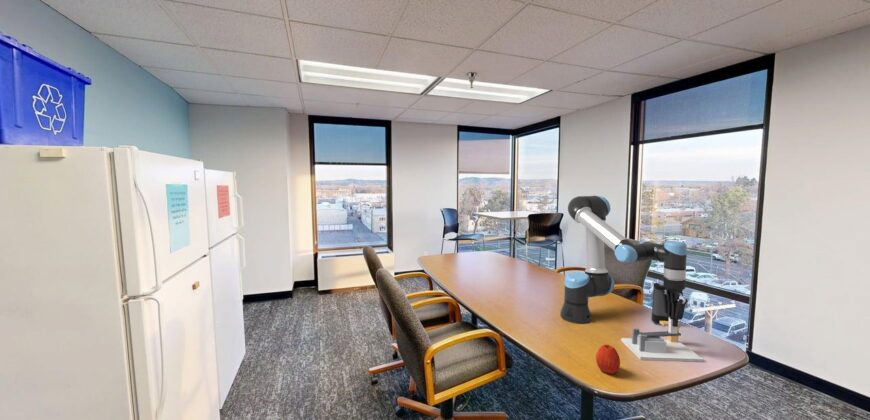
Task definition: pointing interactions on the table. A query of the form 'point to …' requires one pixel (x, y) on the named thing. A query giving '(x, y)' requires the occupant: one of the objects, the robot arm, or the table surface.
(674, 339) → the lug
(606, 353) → the apple
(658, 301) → the electronic device
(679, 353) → the board
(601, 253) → the robot arm
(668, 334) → the strap
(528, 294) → the table surface
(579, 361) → the table surface
